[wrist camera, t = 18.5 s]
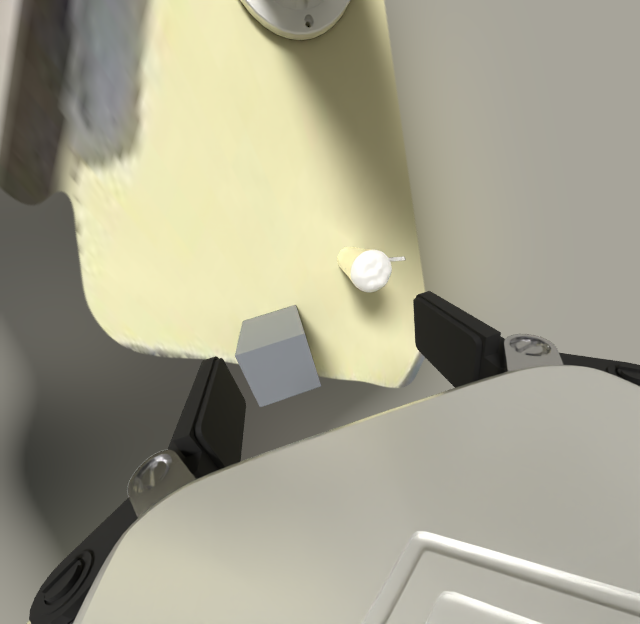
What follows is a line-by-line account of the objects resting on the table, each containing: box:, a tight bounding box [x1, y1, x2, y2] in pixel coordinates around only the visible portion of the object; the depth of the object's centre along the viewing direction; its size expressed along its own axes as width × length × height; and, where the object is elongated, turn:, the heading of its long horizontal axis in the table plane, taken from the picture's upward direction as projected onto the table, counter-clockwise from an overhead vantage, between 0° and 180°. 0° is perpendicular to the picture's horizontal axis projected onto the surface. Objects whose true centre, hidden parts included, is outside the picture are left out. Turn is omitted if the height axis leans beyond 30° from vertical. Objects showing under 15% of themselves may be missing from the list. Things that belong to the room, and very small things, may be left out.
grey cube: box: [235, 305, 321, 407], centre depth 31 cm, size 8×8×9 cm
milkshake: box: [337, 247, 406, 292], centre depth 28 cm, size 4×5×10 cm
